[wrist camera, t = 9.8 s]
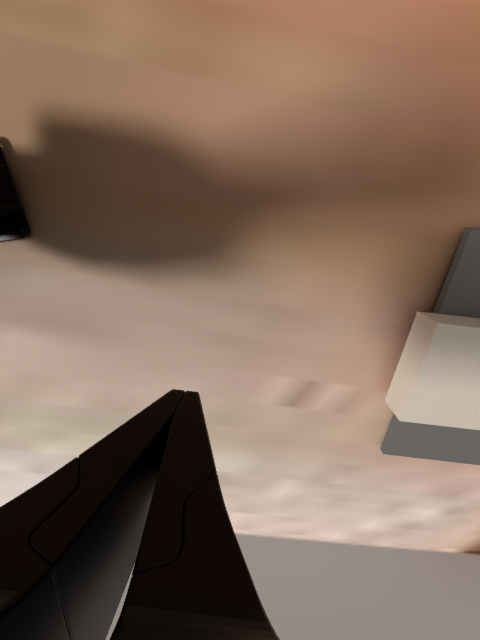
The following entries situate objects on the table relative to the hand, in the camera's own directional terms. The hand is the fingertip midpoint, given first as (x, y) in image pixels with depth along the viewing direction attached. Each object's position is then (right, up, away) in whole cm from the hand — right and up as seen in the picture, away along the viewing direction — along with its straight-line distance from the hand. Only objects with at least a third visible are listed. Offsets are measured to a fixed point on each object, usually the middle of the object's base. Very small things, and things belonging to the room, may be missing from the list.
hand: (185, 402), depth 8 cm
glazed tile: (+14, -1, +11) cm, 18 cm away
